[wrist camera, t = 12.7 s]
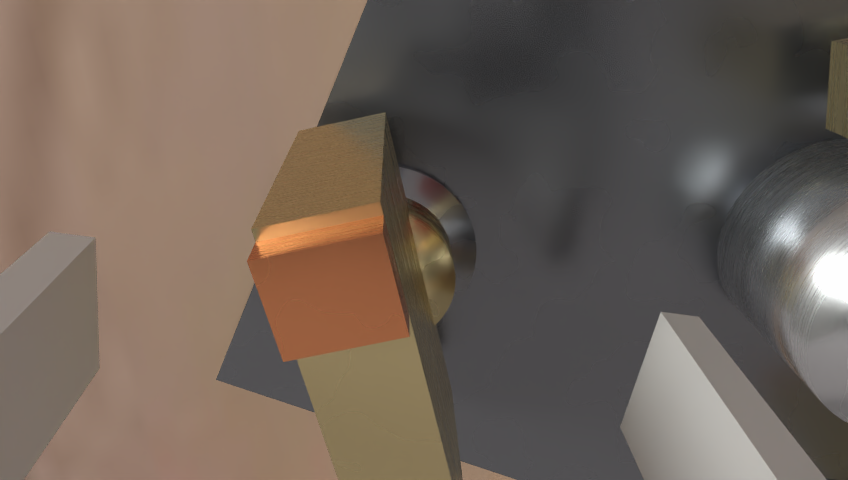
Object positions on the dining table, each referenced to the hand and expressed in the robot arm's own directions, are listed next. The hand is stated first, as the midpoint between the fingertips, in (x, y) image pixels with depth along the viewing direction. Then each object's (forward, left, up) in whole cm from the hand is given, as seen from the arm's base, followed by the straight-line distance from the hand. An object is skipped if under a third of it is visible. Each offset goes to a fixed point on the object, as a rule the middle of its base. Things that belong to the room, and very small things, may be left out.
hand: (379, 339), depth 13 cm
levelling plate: (-9, -3, -6) cm, 12 cm away
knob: (0, 0, -3) cm, 3 cm away
